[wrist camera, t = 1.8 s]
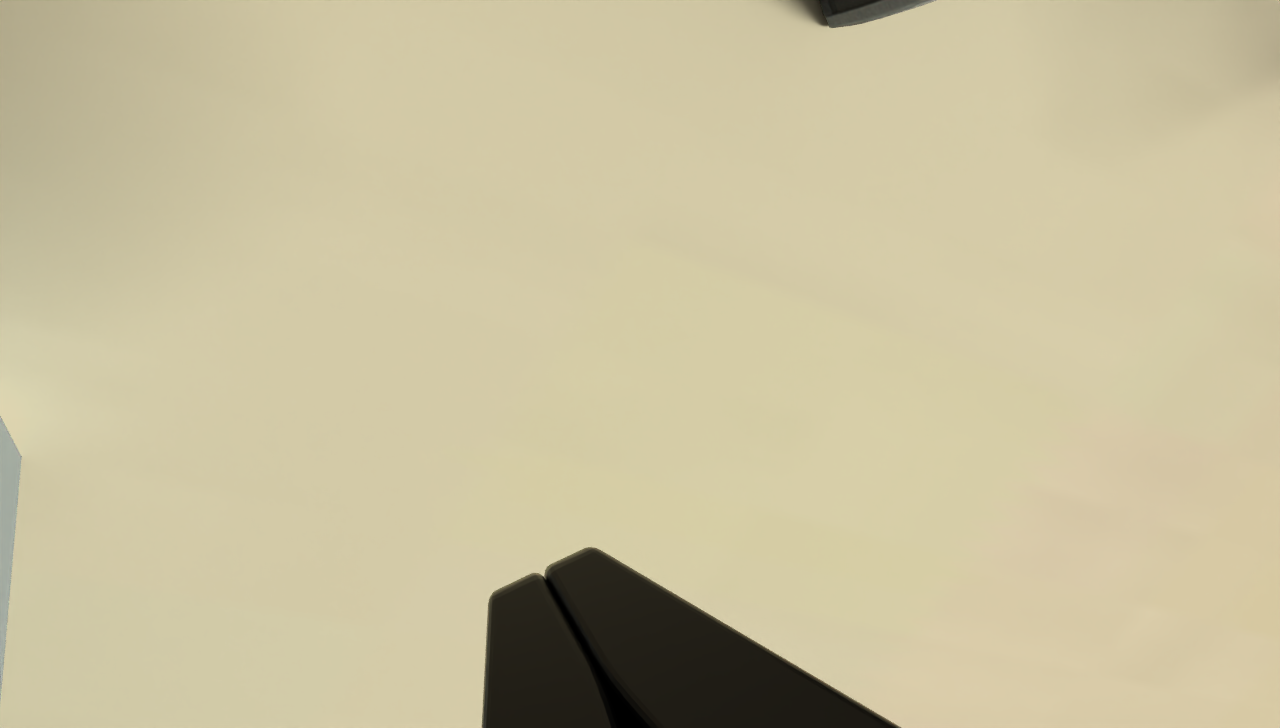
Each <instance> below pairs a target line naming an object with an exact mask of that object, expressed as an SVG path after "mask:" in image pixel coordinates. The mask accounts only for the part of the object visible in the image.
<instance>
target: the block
mask: <svg viewBox="0 0 1280 728" xmlns="http://www.w3.org/2000/svg"><path fill="white" fill-rule="evenodd" d="M21 457H22V456H21V455H20V453H19V451H18V449H17V447H16V445H15V443H14V441H13V439H12V437H11V435H10V434H9V432H8V430H7V428H6V426H5V424H4V422H3V420H2V418H1V416H0V699H1V688H2V676H3V665H4V653H5V642H6V630H7V618H8V607H9V595H10V584H11V572H12V561H13V549H14V537H15V526H16V514H17V503H18V491H19V480H20V468H21Z"/></svg>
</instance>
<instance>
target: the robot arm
mask: <svg viewBox="0 0 1280 728" xmlns="http://www.w3.org/2000/svg"><path fill="white" fill-rule="evenodd" d="M544 577H545V578H544ZM544 577H543V576H542V575H541V574H539V573H532V574H530V575H527V576H525V577H523V578H521V579H519V580H517V581H515V582H513V583H511V584H509V585H507V586H504V587H502V588H500V589H498V590H496V591H495V592H493V593H492V595H491V596H490V599H489V603H488V618H487V637H486V657H485V676H484V696H483V715H482V728H901V727H899V726H898V725H896V724H894V723H892V722H891V721H889V720H887V719H886V718H884V717H882V716H881V715H879V714H877V713H876V712H874V711H872V710H870V709H869V708H867V707H865V706H864V705H862V704H860V703H859V702H857V701H855V700H853V699H852V698H850V697H848V696H847V695H845V694H843V693H842V692H840V691H838V690H837V689H835V688H833V687H831V686H830V685H828V684H826V683H825V682H823V681H821V680H820V679H818V678H816V677H815V676H813V675H811V674H809V673H808V672H806V671H804V670H803V669H801V668H799V667H798V666H796V665H794V664H793V663H791V662H789V661H787V660H786V659H784V658H782V657H781V656H779V655H777V654H776V653H774V652H772V651H770V650H769V649H767V648H765V647H764V646H762V645H760V644H759V643H757V642H755V641H754V640H752V639H750V638H748V637H747V636H745V635H743V634H742V633H740V632H738V631H737V630H735V629H733V628H732V627H730V626H728V625H726V624H725V623H723V622H721V621H720V620H718V619H716V618H715V617H713V616H711V615H710V614H708V613H706V612H704V611H703V610H701V609H699V608H698V607H696V606H694V605H693V604H691V603H689V602H687V601H686V600H684V599H682V598H681V597H679V596H677V595H676V594H674V593H672V592H671V591H669V590H667V589H665V588H664V587H662V586H660V585H659V584H657V583H655V582H654V581H652V580H650V579H649V578H647V577H645V576H643V575H642V574H640V573H638V572H637V571H635V570H633V569H632V568H630V567H628V566H627V565H625V564H623V563H621V562H620V561H618V560H616V559H615V558H613V557H611V556H610V555H608V554H606V553H604V552H603V551H601V550H599V549H597V548H592V547H588V548H584V549H582V550H580V551H578V552H576V553H574V554H572V555H570V556H567V557H565V558H563V559H561V560H559V561H557V562H555V563H553V564H551V565H549V566H548V567H547V569H546V570H545V575H544Z"/></svg>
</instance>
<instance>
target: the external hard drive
mask: <svg viewBox="0 0 1280 728" xmlns="http://www.w3.org/2000/svg"><path fill="white" fill-rule="evenodd" d="M933 1H936V0H820V4H821V8H822V12H823V15H824V16H825V18H826V19H827V22H828V25H829V27H830V28H836V27H844V26H852V25H857V24H862V23H866V22H869V21H873V20H877V19H880V18H884V17H887V16H890V15H893V14H897V13H900V12H903V11H906V10H910V9H913V8H916V7H919V6H922V5H925V4H928V3H931V2H933Z"/></svg>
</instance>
